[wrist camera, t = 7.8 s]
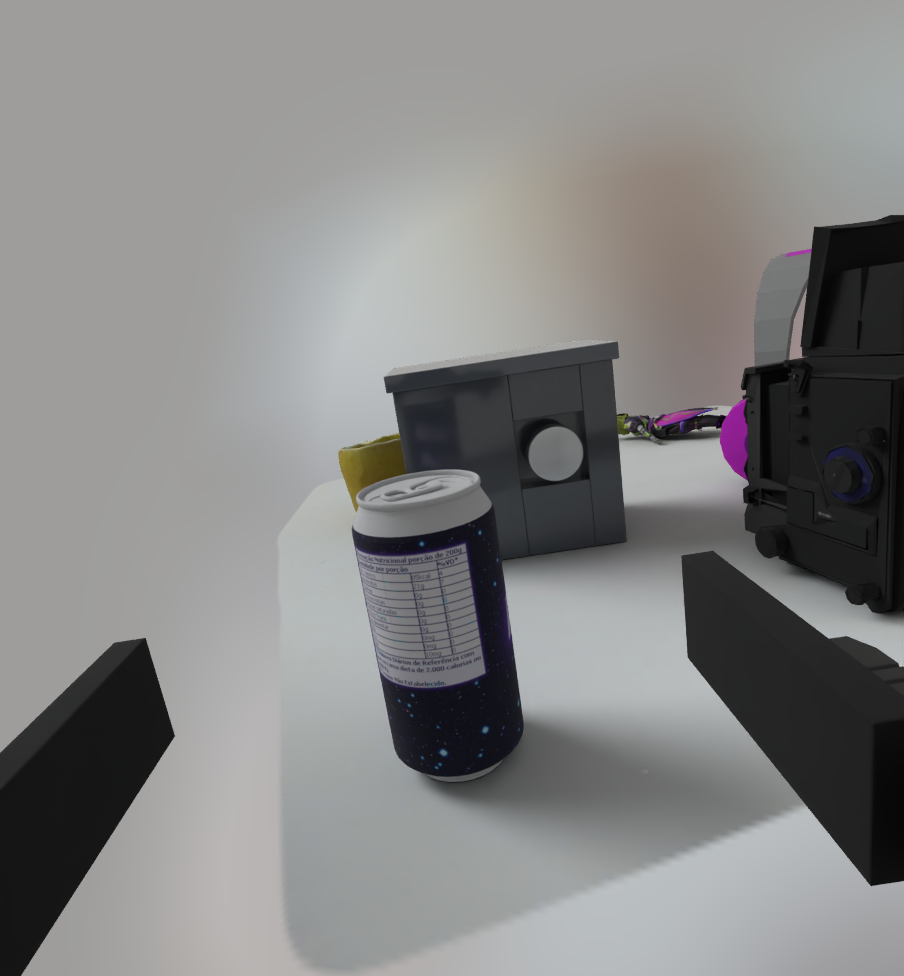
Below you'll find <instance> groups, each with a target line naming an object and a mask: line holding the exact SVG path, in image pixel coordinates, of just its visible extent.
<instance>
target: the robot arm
mask: <svg viewBox="0 0 904 976" xmlns="http://www.w3.org/2000/svg"><path fill="white" fill-rule="evenodd" d="M681 557H682V573H683V589H684V605H685V621H686V637H687V653H688V658H689V660H690V661H691V662H692V663H693V665H694V666H695V667H696V668H697V670H698V671H699V672H700V673H701V675H702V676H703V677H704V678H705V680H706V681H707V682H708V683H709V685H710V686H711V687H712V688H713V690H714V691H715V692H716V693H717V695H718V696H719V697H720V698H721V700H722V701H723V702H724V703H725V705H726V706H727V707H728V708H729V710H730V711H731V712H732V713H733V715H734V716H735V717H736V718H737V720H738V721H739V722H740V723H741V725H742V726H743V727H744V728H745V730H746V731H747V732H748V733H749V735H750V736H751V737H752V738H753V740H754V741H755V742H756V743H757V745H758V746H759V747H760V748H761V749H762V751H763V752H764V753H765V754H766V756H767V757H768V758H769V759H770V761H771V762H772V763H773V764H774V766H775V767H776V768H777V769H778V771H779V772H780V773H781V774H782V776H783V777H784V778H785V779H786V781H787V782H788V783H789V784H790V786H791V787H792V788H793V789H794V791H795V792H796V793H797V794H798V796H799V797H800V798H801V799H802V801H803V802H804V803H805V804H806V806H807V807H808V808H809V809H810V811H811V812H812V813H813V814H814V816H815V817H816V818H817V819H818V821H819V822H820V823H821V824H822V825H823V827H824V828H825V829H826V831H828V833H829V834H830V836H831V837H832V838H833V839H834V841H835V842H836V843H837V844H838V846H839V847H840V848H841V849H842V851H843V852H844V853H845V854H846V856H847V857H848V858H849V859H850V861H851V862H852V863H853V864H854V865H855V867H856V868H857V869H858V871H859V872H860V873H861V874H862V875H863V877H864V878H865V879H866V880H867V882H868V883H869V884H870V885H871V886H873V885H880V884H886V883H893V882H900V881H904V667H903V666H902V667H899V665H898V663H897V662H896V661H894V660H893V659H891V658H890V657H888V656H887V655H886V654H884V653H883V652H881V651H880V650H878V649H877V648H875V647H873V646H870V645H867V644H865V643H862V642H860V641H857V640H855V639H852V638H850V637H847V636H845V637H839V638H832V639H828V638H827V637H826V636H824V635H823V634H822V633H820V632H819V631H818V630H816V629H815V628H814V627H812V626H811V625H810V624H808V623H807V622H806V621H805V620H803V619H802V618H801V617H799V616H798V615H797V614H795V613H794V612H793V611H791V610H790V609H789V608H787V607H786V606H785V605H783V604H782V603H781V602H779V601H778V600H777V599H776V598H774V597H773V596H772V595H770V594H769V593H768V592H766V591H765V590H764V589H762V588H761V587H760V586H758V585H757V584H756V583H754V582H753V581H752V580H750V579H749V578H748V577H747V576H745V575H744V574H743V573H741V572H740V571H739V570H737V569H736V568H735V567H733V566H732V565H731V564H729V563H728V562H727V561H725V560H724V559H723V558H721V557H720V556H719V555H718V554H716V553H715V552H714V551H709V552H702V553H696V554H689V555H683V556H681ZM174 737H175V735H174V732H173V728H172V725H171V722H170V718H169V715H168V711H167V708H166V705H165V701H164V698H163V695H162V691H161V688H160V685H159V681H158V678H157V675H156V672H155V668H154V665H153V661H152V658H151V655H150V651H149V648H148V645H147V641H146V638H143V639H136V640H129V641H123V642H116V643H114V644H113V645H112V646H111V647H110V648H109V649H108V650H107V651H106V652H104V653H103V654H102V655H101V656H100V657H99V658H98V659H97V660H96V661H95V662H94V663H93V664H92V665H91V666H90V667H89V668H88V669H87V670H86V671H85V672H84V673H83V674H82V675H81V676H79V677H78V678H77V679H76V680H75V682H73V683H72V684H71V685H70V686H69V687H68V688H67V689H66V690H65V691H64V692H63V693H62V694H61V695H60V696H59V697H58V698H57V699H56V700H55V701H54V702H53V703H52V704H51V705H49V706H48V707H47V708H46V710H44V711H43V712H42V713H41V714H40V715H39V716H38V717H37V718H36V719H35V720H34V721H33V722H32V723H31V724H30V725H29V726H28V727H27V728H26V729H25V730H24V731H23V732H22V733H20V734H19V735H18V737H16V738H15V739H14V740H13V741H12V742H11V743H10V744H9V745H8V746H7V747H6V748H5V749H4V750H3V751H2V752H1V753H0V976H21V975H22V973H23V972H24V970H25V969H26V967H27V965H28V964H29V962H30V961H31V959H32V958H33V956H34V955H35V953H36V951H37V950H38V948H39V947H40V945H41V944H42V942H43V940H44V939H45V937H46V936H47V934H48V933H49V931H50V929H51V928H52V926H53V925H54V923H55V922H56V920H57V919H58V917H59V916H60V914H61V912H62V911H63V909H64V908H65V906H66V905H67V903H68V902H69V900H70V898H71V897H72V895H73V894H74V892H75V891H76V889H77V888H78V886H79V884H80V883H81V881H82V880H83V878H84V877H85V875H86V874H87V872H88V870H89V869H90V867H91V866H92V864H93V863H94V861H95V860H96V858H97V856H98V855H99V853H100V852H101V850H102V849H103V847H104V845H105V844H106V842H107V841H108V839H109V838H110V836H111V835H112V833H113V832H114V830H115V828H116V827H117V825H118V824H119V822H120V821H121V819H122V817H123V816H124V814H125V813H126V811H127V810H128V808H129V807H130V805H131V804H132V802H133V800H134V799H135V797H136V795H137V794H138V793H139V791H140V789H141V788H142V786H143V785H144V783H145V782H146V780H147V779H148V777H149V775H150V774H151V772H152V771H153V769H154V768H155V766H156V765H157V763H158V761H159V760H160V758H161V757H162V755H163V754H164V752H165V751H166V749H167V747H168V746H169V744H170V743H171V741H172V740H173V738H174Z"/></svg>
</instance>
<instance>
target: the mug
mask: <svg viewBox="0 0 904 976" xmlns="http://www.w3.org/2000/svg"><path fill="white" fill-rule="evenodd" d="M339 463H340V468H341V471H342V474H343V477H344V479H345V482H346V485H347V488H348V491H349V493H350V496H351V499H352V502H353V505H354V508H355V510H356V513H357V510H358V506H359V505H358V504H357V502H356V496H357V494H358V493H359V492H360V491H361V490H362V489H364V488H366V487H367V486H370V485H372V484H374V483H377V482H380V481H383V480H386V479H389V478H393V477H397V476H401V475H406V469H405V463H404V457H403V452H402V446H401V440H400V434H399V433H397V434H393V435H389V436H383V437H381V438H378V439H376V440H374V441H372V442H371V441H366V442H363V443H360V444H356V445H354V446H349V447H345V448H342V449H340V450H339Z"/></svg>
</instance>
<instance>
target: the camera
mask: <svg viewBox="0 0 904 976" xmlns="http://www.w3.org/2000/svg"><path fill="white" fill-rule="evenodd" d="M801 347H802V357H804V358H799V359H793V360H784V361H782V362H776V363H771V364H765V365H760V366H754V367H749V368H745V370H744V374H743V379H742V384H741V389H742V390H746V395H744V396H743V399H746V403H745V407H744V412H743V414H744V417H745V423H746V424H747V442H748V457H747V460H746V463H745V467H744V472H745V475H746V477H747V480H748V482H749V485H748V486H747V487H745V488H744V489H743V498H744V503H747V504H748V505H747V508H746V511H745V514H744V515H745V530H747V531H750V532H752V533H755V534H756V535H755V542H756V546H757V549H758V550H759V552H760V553H761V554H762V555H763V556H764V557H766V558H772V557H775V556H779V559H781V560H784V561H787V562H790V563H793V564H795V565H798V566H801V567H804V568H807V569H810V570H813V571H815V572H817V573H819V574H821V575H824V576H826V577H828V578H830V579H833V580H835V581H837V582H839V583H841V584H844V585H846V586H848V588H847V590H846V592H845V593H846V596H847V599H848V600H849V601H850V603H851V604H855V605H863V604H864V603H866V604H867V605H868V607H869V608H870V610H871V611H872V612H887V611H890V610H896V611H898V610H901V609H904V215H890V216H887V217H884V218H882V219H879V220H876V221H868V222H861V223H854V224H846V225H835V226H825V227H814V233H813V242H812V250H811V259H810V268H809V277H808V285H807V294H806V303H805V312H804V320H803V329H802V338H801Z"/></svg>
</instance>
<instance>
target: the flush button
mask: <svg viewBox="0 0 904 976" xmlns="http://www.w3.org/2000/svg"><path fill="white" fill-rule="evenodd" d="M526 458H527V461H528V463H529V465H530V467H531V468H532V469H533V471H534V472H535V473H536V474H537V475H538V476H540V477H541V478H543V479H546V480H550V481H559V480H563V479H566V478H568V477H570V476H571V475H573V474H574V473H575V472H576V471H577V469H578V468H579V466H580V465H581V462H582V459H583V446H582V443H581V441H580V439H579V437H578V436H577V435H576V434H575V433H574V432H573V431H571V430H570V429H568V428H567V427H565V426H562V425H559V424H549V425H545V426H542V427H540V428H539V429H537V430H536V431H535V432H534V433H533V434H532V435H531V436H530V438H529V440H528V442H527V445H526Z"/></svg>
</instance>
